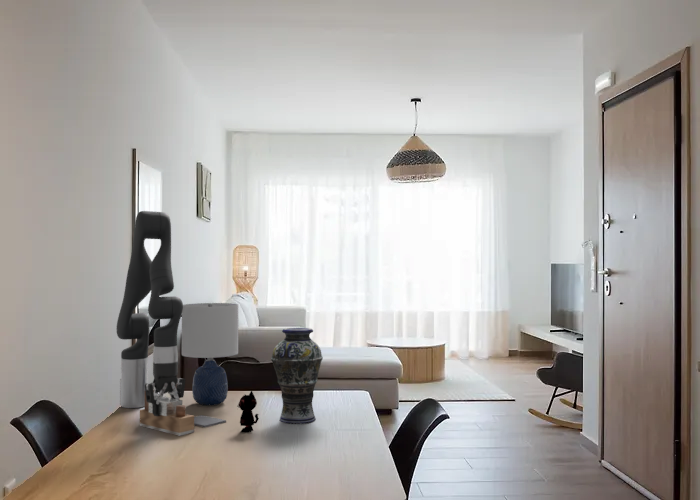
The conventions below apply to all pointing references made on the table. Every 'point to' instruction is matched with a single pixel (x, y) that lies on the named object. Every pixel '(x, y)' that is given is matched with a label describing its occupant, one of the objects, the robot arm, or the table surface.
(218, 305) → the lamp
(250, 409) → the cat figurine
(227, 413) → the table surface
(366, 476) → the table surface
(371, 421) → the table surface
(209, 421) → the felt mat
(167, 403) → the lever cap
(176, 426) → the plane body
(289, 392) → the vase
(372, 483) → the table surface
